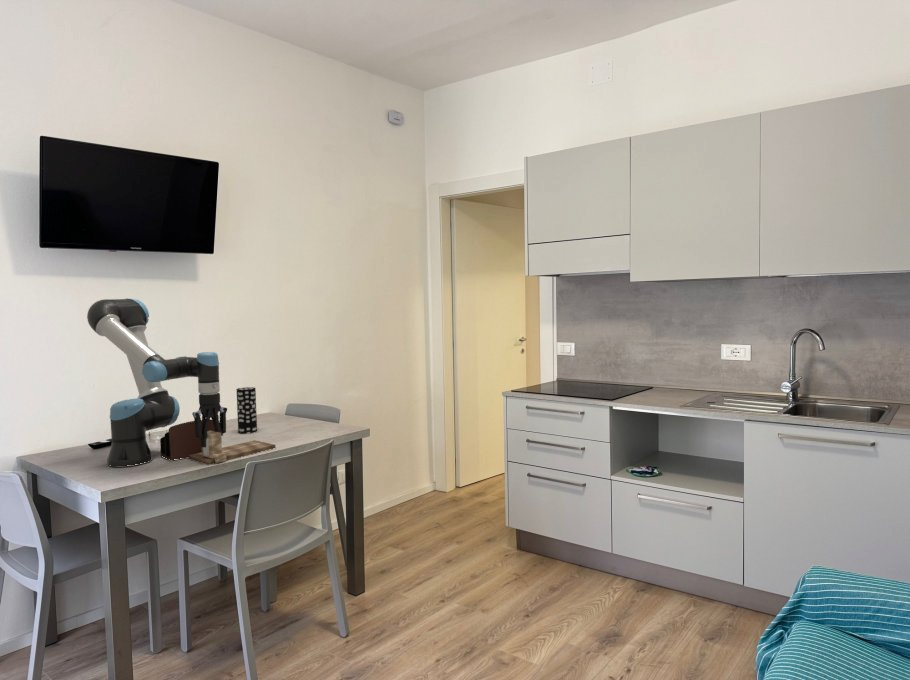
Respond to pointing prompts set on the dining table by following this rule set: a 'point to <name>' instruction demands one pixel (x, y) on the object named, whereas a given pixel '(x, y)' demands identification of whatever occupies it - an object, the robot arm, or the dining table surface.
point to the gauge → (215, 447)
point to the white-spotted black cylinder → (246, 410)
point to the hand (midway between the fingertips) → (211, 453)
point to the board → (235, 451)
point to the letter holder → (182, 441)
